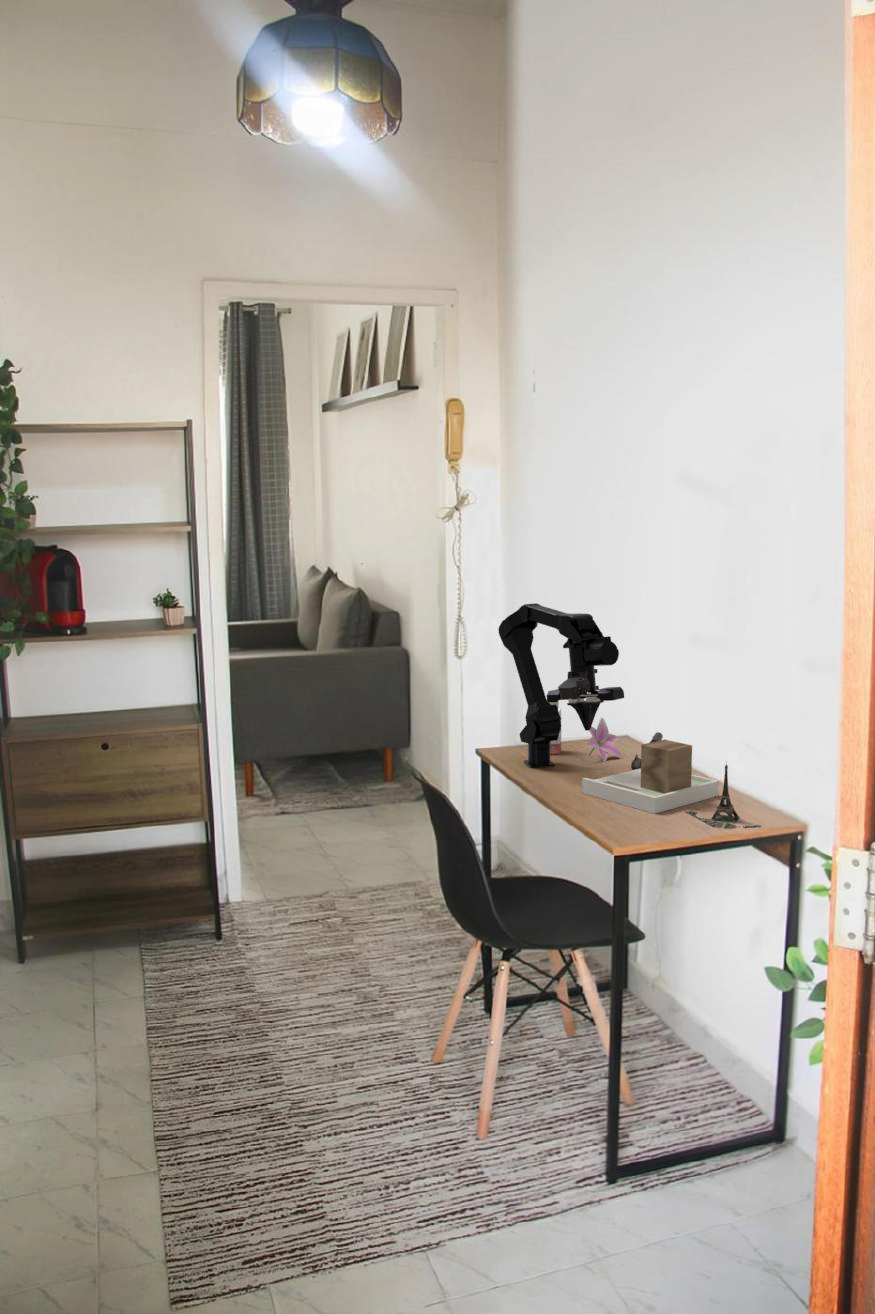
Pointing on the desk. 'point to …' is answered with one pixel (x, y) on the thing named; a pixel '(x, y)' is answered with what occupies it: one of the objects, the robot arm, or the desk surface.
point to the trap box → (648, 791)
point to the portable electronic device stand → (637, 761)
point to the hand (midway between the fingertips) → (587, 730)
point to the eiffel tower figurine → (727, 808)
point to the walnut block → (666, 766)
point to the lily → (603, 741)
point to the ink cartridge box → (556, 745)
